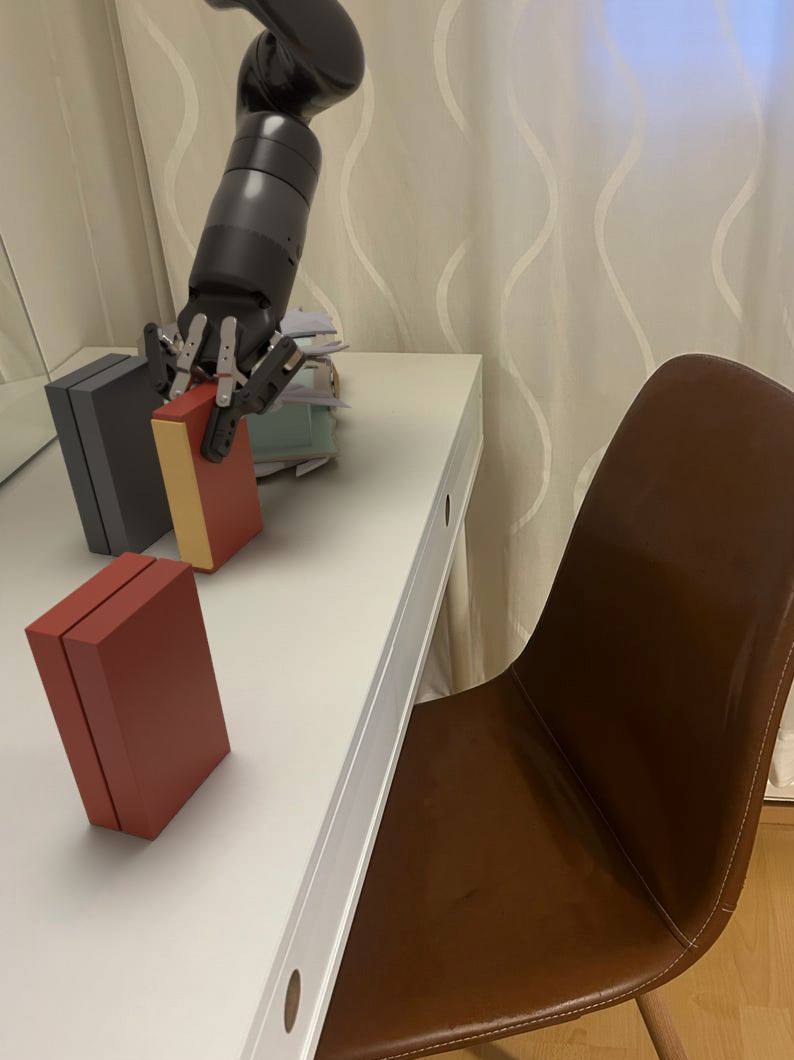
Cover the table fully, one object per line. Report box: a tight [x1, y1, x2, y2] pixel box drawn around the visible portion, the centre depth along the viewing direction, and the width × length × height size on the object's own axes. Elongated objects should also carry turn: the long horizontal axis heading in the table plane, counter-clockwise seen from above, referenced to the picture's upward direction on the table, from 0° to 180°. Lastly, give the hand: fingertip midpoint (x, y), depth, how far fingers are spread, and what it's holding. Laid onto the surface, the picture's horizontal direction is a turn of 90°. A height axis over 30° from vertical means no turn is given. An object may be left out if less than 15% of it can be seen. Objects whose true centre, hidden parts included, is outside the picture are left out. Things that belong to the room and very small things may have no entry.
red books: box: [24, 552, 232, 841], centre depth 53 cm, size 4×8×13 cm, turn 161°
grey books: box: [43, 352, 174, 557], centre depth 78 cm, size 4×8×14 cm, turn 161°
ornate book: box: [136, 305, 353, 478], centre depth 98 cm, size 23×10×30 cm
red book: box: [151, 376, 264, 574], centre depth 76 cm, size 3×8×13 cm, turn 161°
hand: (192, 456), depth 73 cm, fingers closed on red book, 2 cm apart
